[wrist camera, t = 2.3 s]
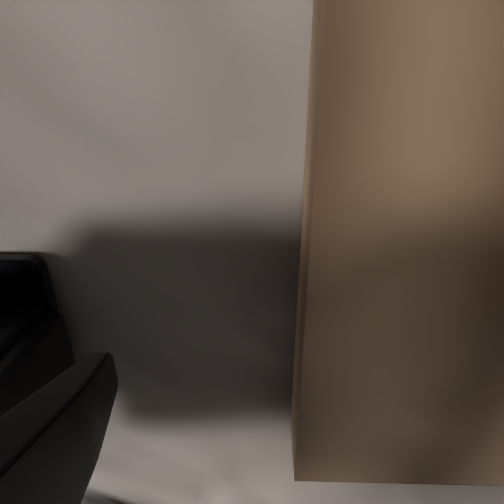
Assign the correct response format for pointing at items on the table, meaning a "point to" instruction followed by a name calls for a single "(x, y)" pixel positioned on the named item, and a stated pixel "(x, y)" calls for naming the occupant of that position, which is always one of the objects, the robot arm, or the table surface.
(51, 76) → the table surface
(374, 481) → the board
